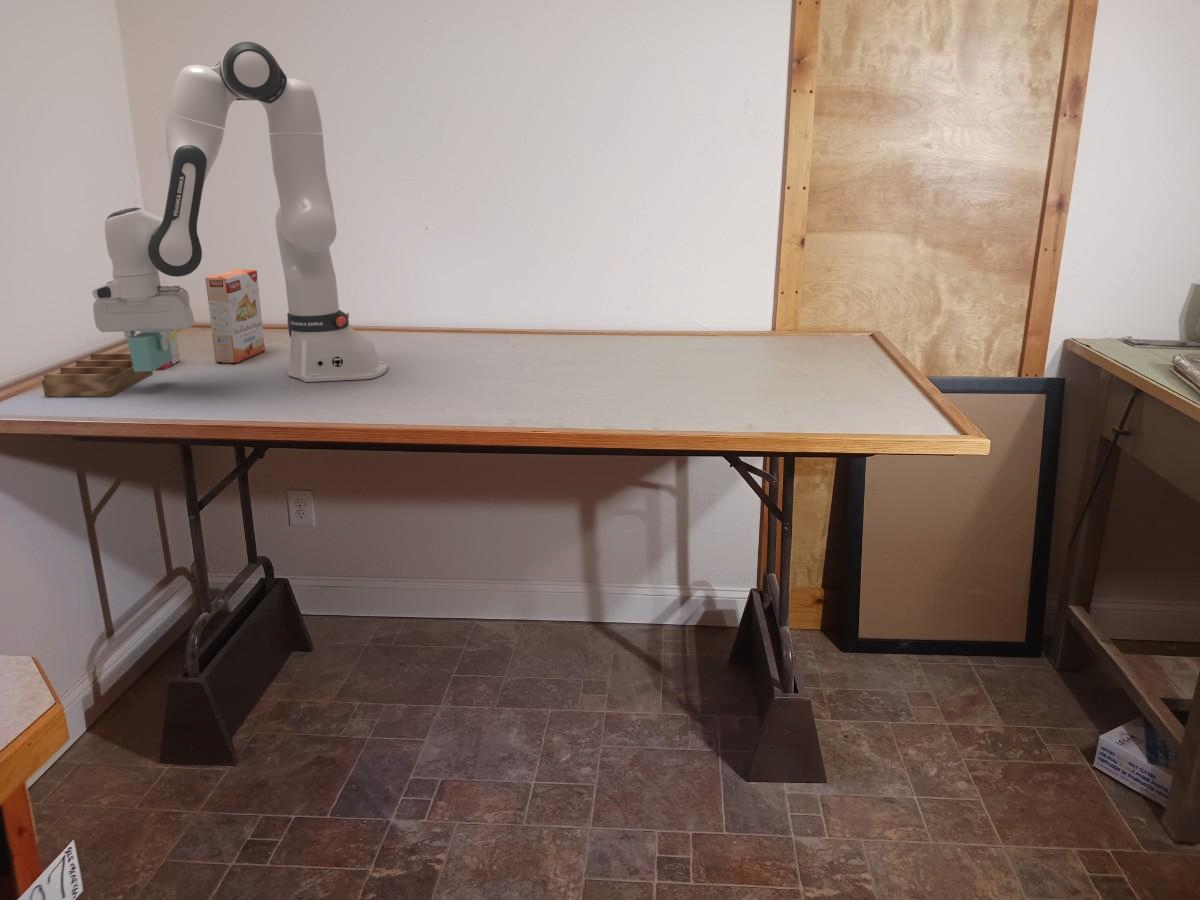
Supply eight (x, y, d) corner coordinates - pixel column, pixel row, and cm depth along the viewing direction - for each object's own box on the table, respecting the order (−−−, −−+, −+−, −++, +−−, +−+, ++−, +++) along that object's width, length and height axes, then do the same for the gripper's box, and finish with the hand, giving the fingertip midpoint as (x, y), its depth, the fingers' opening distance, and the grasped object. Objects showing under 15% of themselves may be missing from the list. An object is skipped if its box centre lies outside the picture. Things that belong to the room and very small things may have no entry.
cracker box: (237, 364, 234) (226, 277, 227) (214, 363, 235) (202, 276, 229) (267, 351, 247) (257, 268, 240) (245, 350, 248) (235, 268, 242)
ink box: (165, 369, 230) (157, 320, 226) (144, 369, 230) (136, 320, 226) (181, 361, 238) (174, 313, 234) (162, 361, 238) (154, 313, 234)
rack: (152, 373, 226) (149, 353, 225) (110, 396, 208) (106, 374, 206) (92, 373, 227) (88, 353, 225) (45, 396, 208) (40, 375, 206)
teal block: (172, 359, 217) (166, 328, 215) (152, 371, 208) (146, 339, 206) (155, 359, 218) (149, 329, 215) (134, 371, 208) (127, 339, 206)
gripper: (192, 282, 210) (203, 345, 214) (99, 285, 210) (112, 348, 215) (180, 288, 204) (191, 352, 208) (84, 291, 204) (98, 355, 209)
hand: (150, 350), depth 212 cm, fingers closed on teal block, 4 cm apart
